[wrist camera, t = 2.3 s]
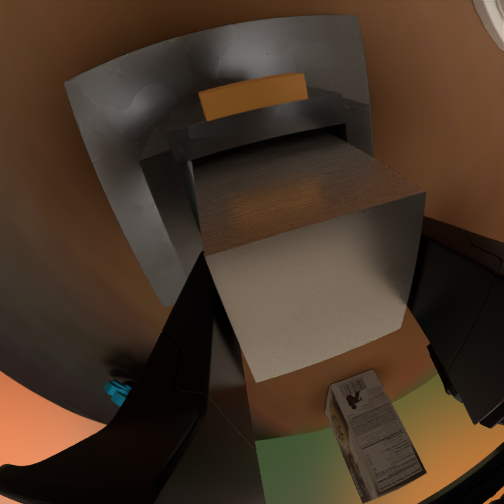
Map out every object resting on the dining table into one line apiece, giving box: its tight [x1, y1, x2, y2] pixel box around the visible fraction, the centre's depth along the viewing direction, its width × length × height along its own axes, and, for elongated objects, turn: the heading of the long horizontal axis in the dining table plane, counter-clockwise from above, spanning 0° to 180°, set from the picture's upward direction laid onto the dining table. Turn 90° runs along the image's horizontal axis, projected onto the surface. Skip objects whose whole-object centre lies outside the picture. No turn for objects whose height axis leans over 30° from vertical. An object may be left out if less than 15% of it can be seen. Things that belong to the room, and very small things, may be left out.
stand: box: [64, 15, 374, 308], centre depth 13 cm, size 14×14×7 cm
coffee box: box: [325, 369, 427, 503], centre depth 29 cm, size 9×6×16 cm
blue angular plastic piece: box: [104, 380, 132, 407], centre depth 23 cm, size 11×6×10 cm
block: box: [191, 128, 426, 383], centre depth 10 cm, size 5×5×9 cm
